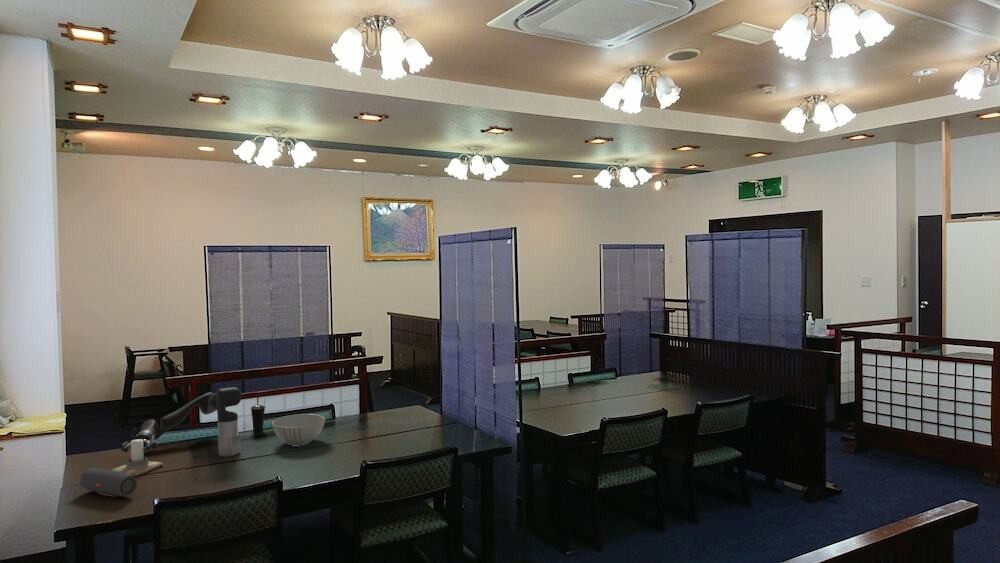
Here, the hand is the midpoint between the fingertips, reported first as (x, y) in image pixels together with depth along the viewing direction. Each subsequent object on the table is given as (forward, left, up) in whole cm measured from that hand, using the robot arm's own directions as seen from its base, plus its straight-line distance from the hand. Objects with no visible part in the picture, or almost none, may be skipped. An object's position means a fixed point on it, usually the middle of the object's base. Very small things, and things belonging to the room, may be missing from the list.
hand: (136, 449), depth 287 cm
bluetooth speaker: (-13, +26, -10) cm, 30 cm away
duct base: (+1, -2, -10) cm, 10 cm away
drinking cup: (-11, -71, -10) cm, 72 cm away
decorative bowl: (-46, -59, -10) cm, 75 cm away
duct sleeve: (+1, -2, -8) cm, 9 cm away
